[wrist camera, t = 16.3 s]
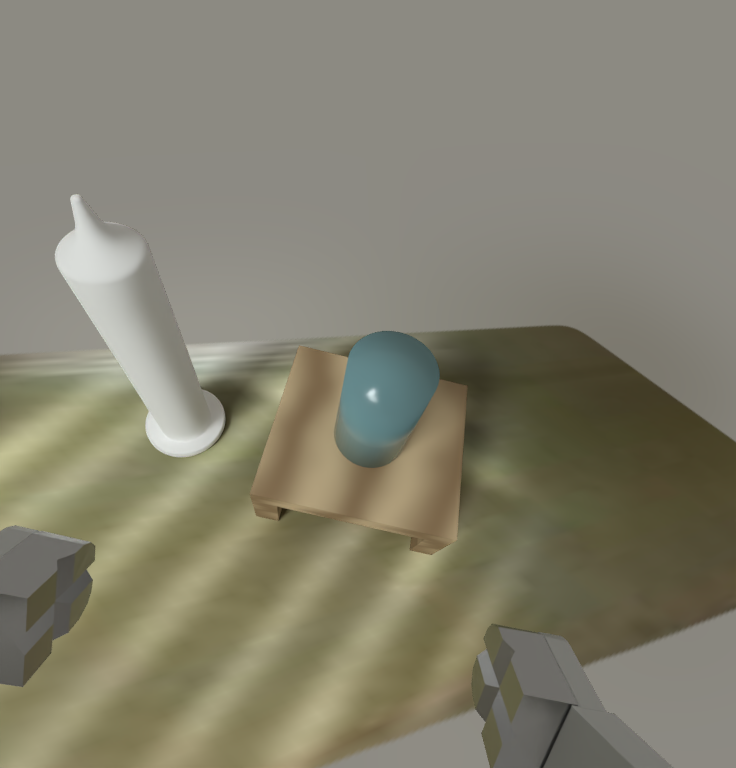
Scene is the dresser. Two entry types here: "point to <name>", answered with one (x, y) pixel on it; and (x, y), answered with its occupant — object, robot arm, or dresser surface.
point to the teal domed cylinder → (383, 396)
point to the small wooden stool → (356, 483)
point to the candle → (139, 329)
